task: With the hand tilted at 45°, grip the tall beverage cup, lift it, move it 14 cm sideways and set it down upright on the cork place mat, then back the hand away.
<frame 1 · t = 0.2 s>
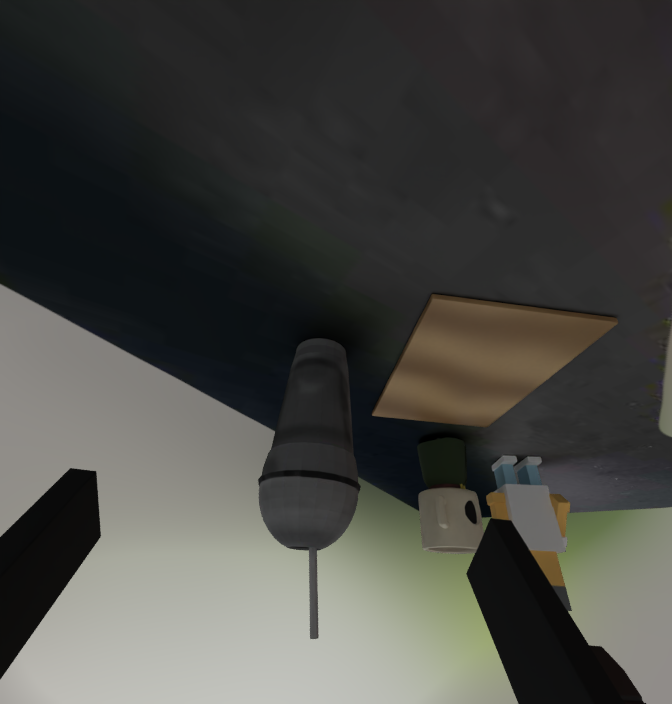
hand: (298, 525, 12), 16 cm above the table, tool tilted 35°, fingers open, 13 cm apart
character mug: (440, 440, 48), on the table
cork mat: (466, 375, 33), on the table
character figure: (517, 460, 53), on the table
beverage cup: (321, 351, 32), on the table
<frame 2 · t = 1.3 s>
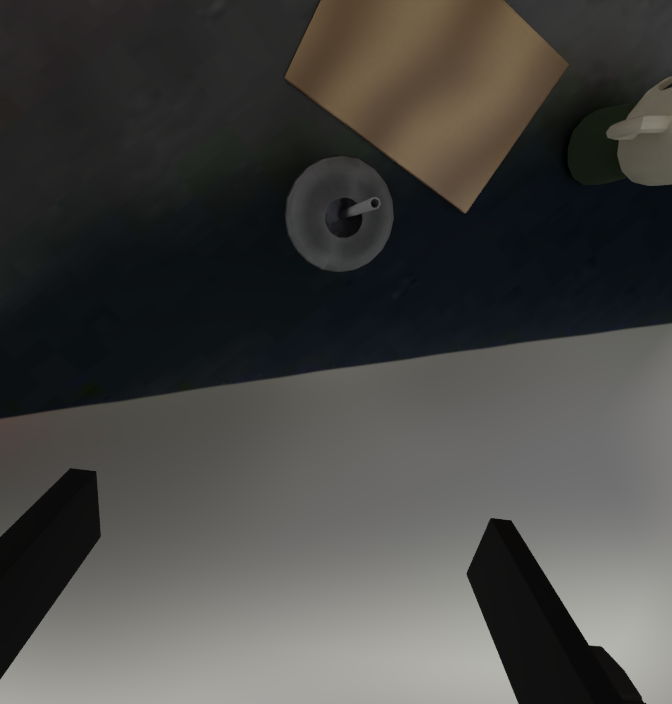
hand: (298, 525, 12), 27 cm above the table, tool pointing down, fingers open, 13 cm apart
character mug: (592, 149, 33), on the table
cork mat: (427, 73, 30), on the table
beverage cup: (331, 215, 34), on the table
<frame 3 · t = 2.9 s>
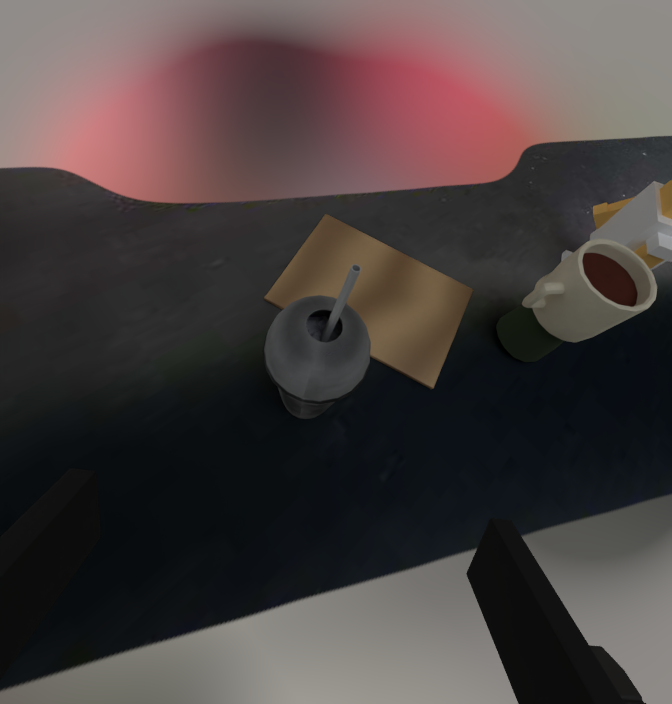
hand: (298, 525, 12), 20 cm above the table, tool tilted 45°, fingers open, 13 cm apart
character mug: (517, 339, 41), on the table
cork mat: (373, 295, 40), on the table
character figure: (578, 273, 46), on the table
beverage cup: (305, 396, 34), on the table
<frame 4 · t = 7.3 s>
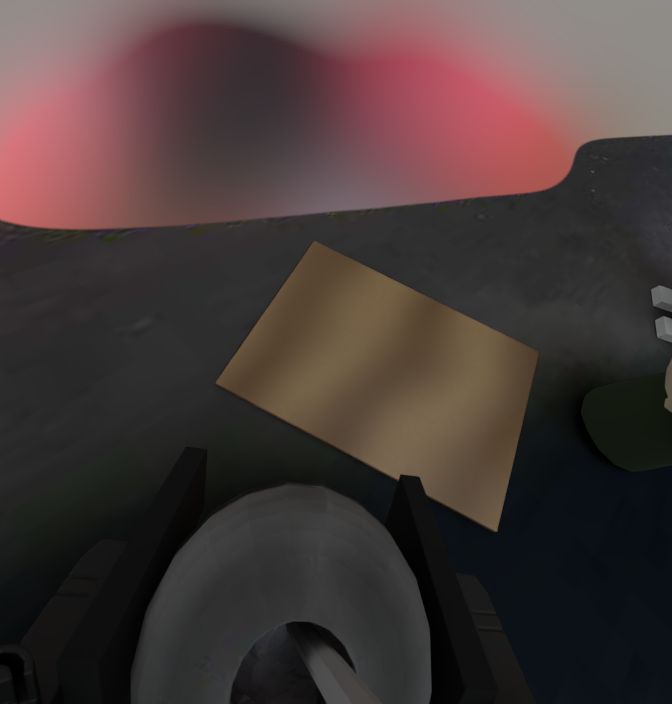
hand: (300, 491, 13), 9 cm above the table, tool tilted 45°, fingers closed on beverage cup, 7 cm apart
character mug: (611, 429, 26), on the table
cork mat: (390, 368, 25), on the table
beverage cup: (283, 563, 20), on the table, touching gripper
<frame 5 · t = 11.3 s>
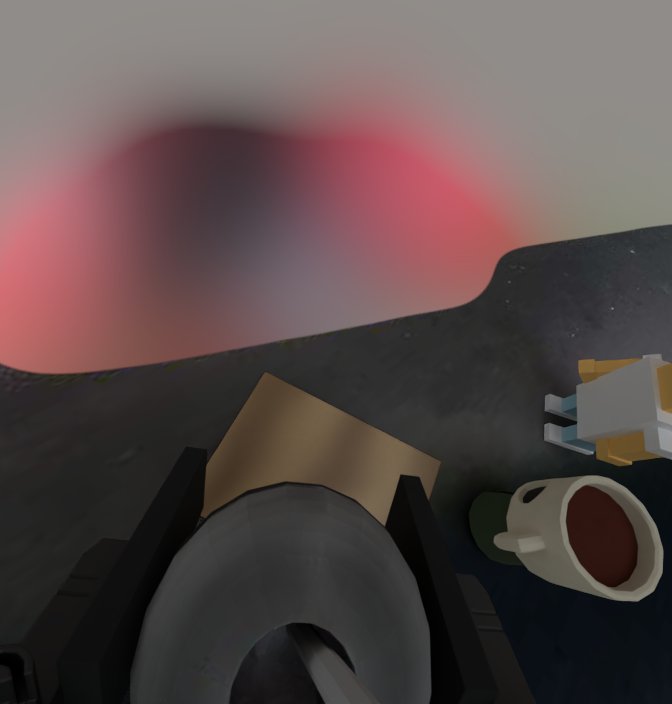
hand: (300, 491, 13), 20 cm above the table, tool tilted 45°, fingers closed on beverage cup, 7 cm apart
character mug: (494, 524, 34), on the table
cork mat: (320, 482, 33), on the table
character figure: (564, 421, 40), on the table
beverage cup: (283, 563, 20), point 12 cm above the table, touching gripper
when the fingers open (9 cm above the table, at t = 15.7 s): beverage cup stays where it is, resting on cork mat.
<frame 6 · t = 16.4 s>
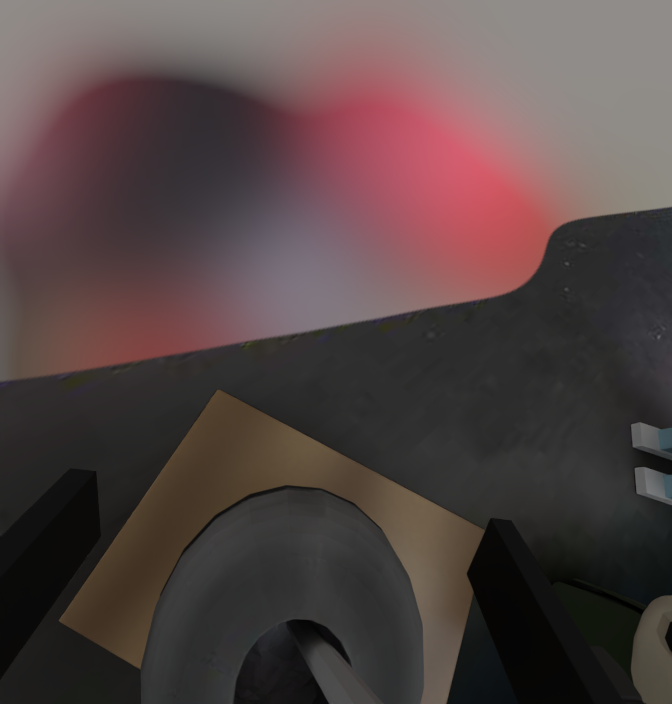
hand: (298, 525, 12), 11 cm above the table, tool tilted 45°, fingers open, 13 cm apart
character mug: (575, 636, 21), on the table
cork mat: (298, 569, 20), on the table
character figure: (661, 462, 27), on the table
beverage cup: (284, 563, 20), resting on cork mat
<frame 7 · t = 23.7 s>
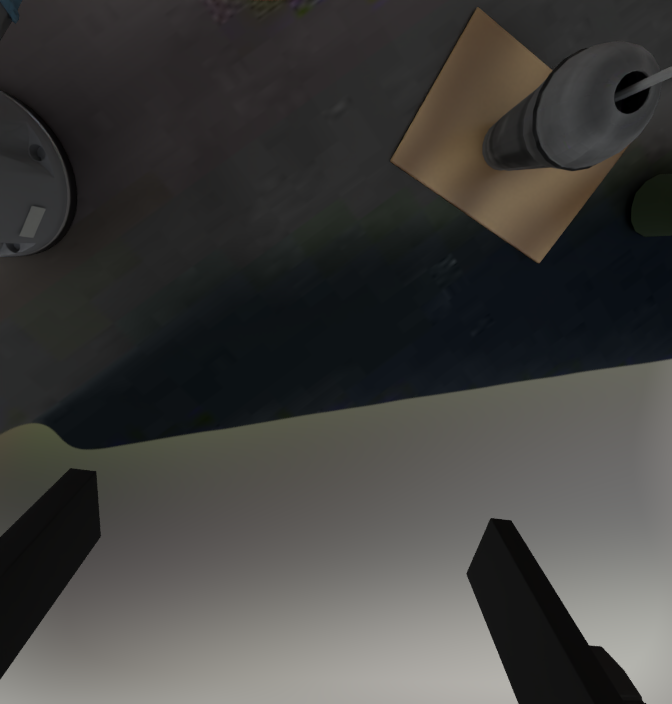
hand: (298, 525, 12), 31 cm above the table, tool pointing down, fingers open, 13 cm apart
character mug: (652, 206, 38), on the table
cork mat: (509, 150, 35), on the table
beverage cup: (503, 145, 35), resting on cork mat
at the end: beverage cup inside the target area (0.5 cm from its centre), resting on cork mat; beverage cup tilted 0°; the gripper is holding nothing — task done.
